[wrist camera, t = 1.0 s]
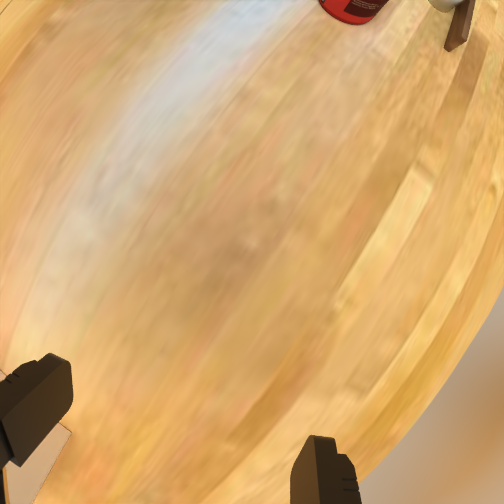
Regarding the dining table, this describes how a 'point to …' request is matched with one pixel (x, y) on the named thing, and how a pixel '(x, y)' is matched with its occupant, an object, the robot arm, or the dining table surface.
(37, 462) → the gable box
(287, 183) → the dining table surface
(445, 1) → the grey rounded capsule
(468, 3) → the u-shaped frame
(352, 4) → the canned food
